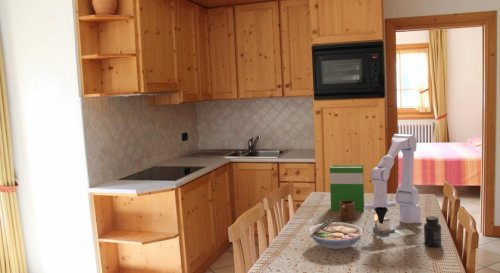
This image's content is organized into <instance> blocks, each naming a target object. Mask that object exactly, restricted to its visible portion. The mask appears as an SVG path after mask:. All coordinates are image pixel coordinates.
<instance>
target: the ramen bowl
mask: <svg viewBox="0 0 500 273" xmlns="http://www.w3.org/2000/svg"><path fill="white" fill-rule="evenodd" d="M334 221H335V219H334V218H332V219H331V218H327V220H325V222H324V223H319V224H316V225H314V226H311V227H310V229H309V230H308V232H309V233H310V236H309V238H312V239H313V241H314V242H316V243H317V244H318V245H319V246H321V247H324V248H328V249H329V250H333V251H339V250H343V249H346V248H350V247H351V246H353V245H355V244H356V243H357V242H358V241H359V240H360V238H361V236H362V234H363V230H364V229H363V228H362V227H359V226H358V225H355V224H351V223H346V222H334ZM362 229H363V230H362Z"/></svg>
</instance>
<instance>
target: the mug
mask: <svg viewBox="0 0 500 273" xmlns="http://www.w3.org/2000/svg"><path fill="white" fill-rule="evenodd" d="M339 219H340V221H341V222H342V223H346V222H351V221H356V211H355V203H354V202H353V201H341V202H340V210H339Z"/></svg>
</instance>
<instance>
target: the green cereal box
mask: <svg viewBox="0 0 500 273" xmlns="http://www.w3.org/2000/svg"><path fill="white" fill-rule="evenodd" d="M364 184H365V183H364V165H363V164H330V165H329V186H330V187H329V190H330V191H329V193H330V211H340V202H341V201H353V202H354V203H355V212H364V211H365V191H364V190H365V186H364Z"/></svg>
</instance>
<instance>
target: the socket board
mask: <svg viewBox="0 0 500 273" xmlns="http://www.w3.org/2000/svg"><path fill="white" fill-rule="evenodd" d="M362 229H363V230H364V231H366V232H368V233H369V234H371V235H372V236H375V237H376V238H378V239H379V240H381V241H383V240H389V239H395V238H401V237H403V238H404V237H409V236H415V235H417V233H416V232H414V231H412V230H410V229H408V228H406V227H404V226H402V225H400V224H398V223H396V222H392V223H391V222H390V230H384V231H381V230H379V229H378V226H377V222H374V225H370V226H364V227H362Z"/></svg>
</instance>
